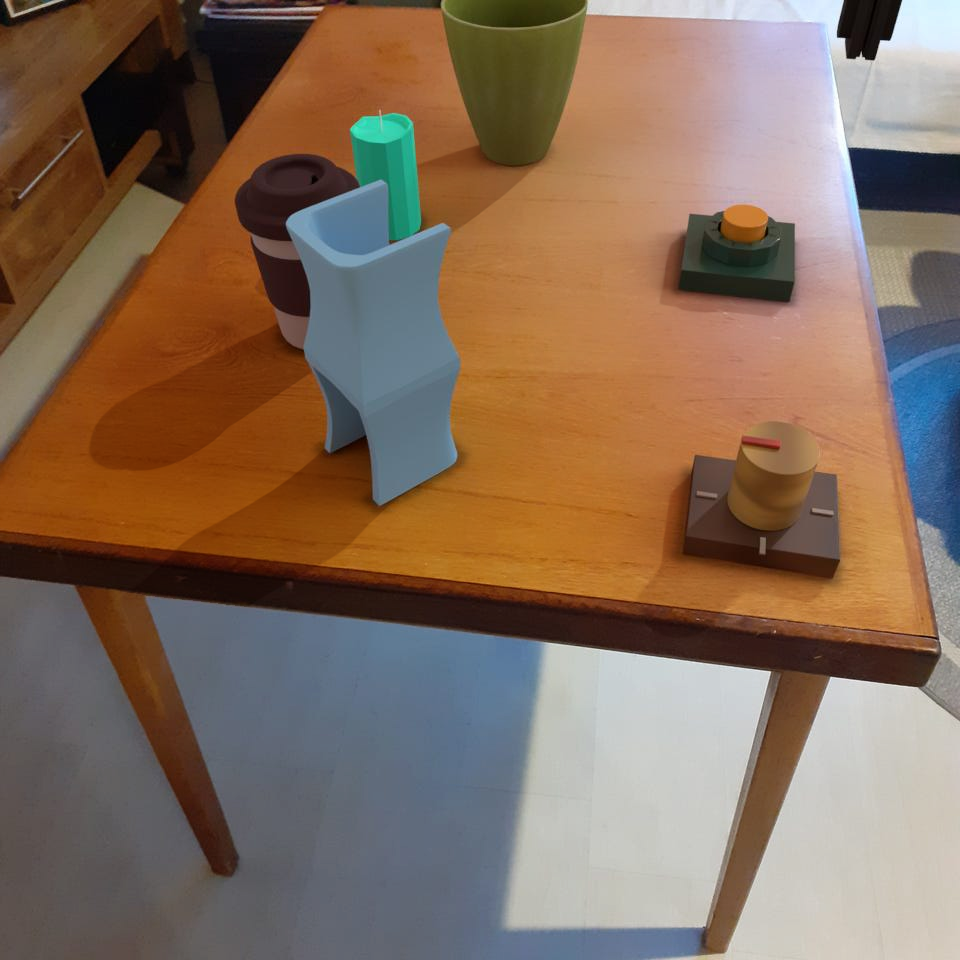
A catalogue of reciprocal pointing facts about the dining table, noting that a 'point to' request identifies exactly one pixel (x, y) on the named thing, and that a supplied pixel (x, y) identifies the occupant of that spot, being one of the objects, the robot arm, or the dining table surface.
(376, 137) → the candle
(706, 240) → the switch box
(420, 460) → the light blue open shell
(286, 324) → the coffee cup
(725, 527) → the dimmer
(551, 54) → the flower pot
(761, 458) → the knob
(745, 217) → the button
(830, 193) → the dining table surface
